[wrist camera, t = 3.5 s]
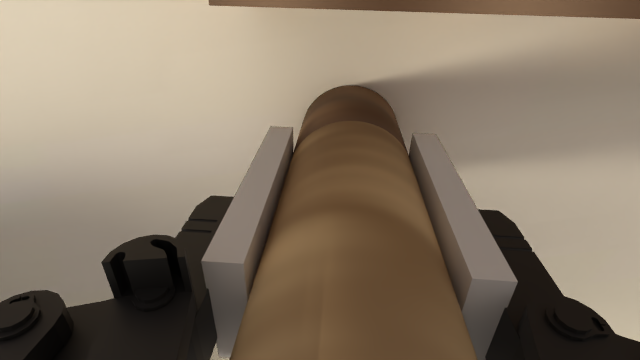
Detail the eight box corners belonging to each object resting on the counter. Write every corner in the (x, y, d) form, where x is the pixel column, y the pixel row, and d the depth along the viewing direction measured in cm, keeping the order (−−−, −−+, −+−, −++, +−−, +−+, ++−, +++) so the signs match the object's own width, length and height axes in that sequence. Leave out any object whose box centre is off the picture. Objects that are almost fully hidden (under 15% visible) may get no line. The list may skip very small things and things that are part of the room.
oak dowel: (302, 172, 16) (166, 751, 4) (302, 83, 14) (39, 695, 2) (391, 176, 16) (526, 798, 4) (403, 87, 14) (752, 785, 2)
